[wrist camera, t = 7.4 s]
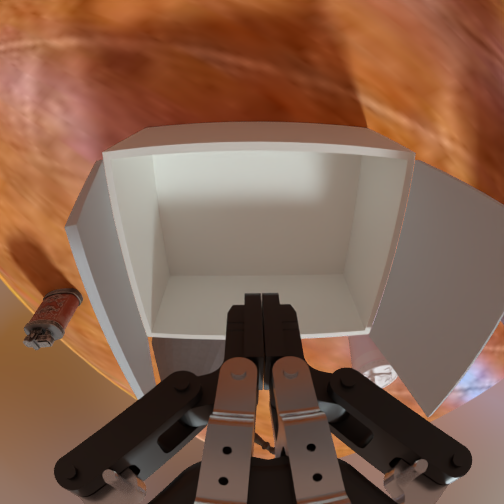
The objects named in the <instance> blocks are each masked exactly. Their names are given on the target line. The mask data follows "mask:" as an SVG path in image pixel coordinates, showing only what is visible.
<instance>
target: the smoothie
mask: <svg viewBox="0 0 504 504" xmlns="http://www.w3.org/2000/svg"><path fill="white" fill-rule="evenodd" d="M372 326H373V325H372ZM371 329H372V327H371ZM370 331H371V330H370ZM369 334H370V333H369ZM369 334H364V335H352V336H348V339H349V346H350V354H351V361H352V369H355V370H357V371H358V372H360V373H361V374H363V375H364V376H365V377H367V378H368V379H369V380H371V381H372V382H374V383H375V384H376V385H378V386H379V387H380V388H384V387H386V386H387V385H389V384H390V383H392V382H393V381H394V380H395V379H396V378H397V376H398V375H397V373H396V372H395V371H394V369H393V368H392V366H391V365H390V364H389V362H388V361H387V360H386V358H385V357H384V356H383V354H382V353H381V352H380V350H379V349H378V347H377V346H376V345H375V343H374V342H373V341H372V339H371V338H370V337H369Z"/></svg>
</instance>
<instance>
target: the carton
mask: <svg viewBox="0 0 504 504" xmlns="http://www.w3.org/2000/svg"><path fill="white" fill-rule="evenodd" d="M415 154H416V153H415V152H413V151H411V150H409V149H408V148H406V147H404V146H402V145H400V144H398V143H396V142H395V141H393V140H391V139H389V138H387V137H385V136H383V135H381V134H379V133H377V132H375V131H373V130H371V129H369V128H363V127H354V126H343V125H331V124H317V123H298V122H213V123H194V124H180V125H168V126H158V127H148V128H144V129H143V130H141V131H139V132H137V133H135V134H133V135H131V136H130V137H128V138H126V139H124V140H122V141H121V142H119V143H117V144H115V145H114V146H112V147H110V148H109V149H107V150H105V151H104V152H102V155H103V161H104V168H105V174H106V179H107V185H108V191H109V196H110V201H111V206H112V211H113V216H114V220H115V225H116V229H117V234H118V238H119V242H120V246H121V250H122V254H123V258H124V262H125V266H126V269H127V273H128V277H129V280H130V284H131V287H132V290H133V294H134V297H135V300H136V304H137V307H138V310H139V313H140V316H141V319H142V322H143V325H144V328H145V331H146V334H147V337H162V338H182V339H215V340H226V325H227V313H228V311H229V310H230V308H231V307H232V305H244V297H245V293H261V307H262V293H278V294H279V301H280V304H291V306H292V307H293V308H294V310H295V311H296V313H297V319H298V325H299V330H300V336H301V339H302V338H322V337H338V336H352V335H364V334H369V333H370V330H371V327H372V324H373V321H374V319H375V316H376V313H377V310H378V307H379V304H380V301H381V298H382V295H383V291H384V288H385V285H386V282H387V278H388V275H389V272H390V268H391V265H392V261H393V258H394V254H395V250H396V246H397V242H398V238H399V234H400V230H401V226H402V222H403V218H404V213H405V209H406V204H407V199H408V194H409V189H410V184H411V178H412V173H413V167H414V160H415Z"/></svg>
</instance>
